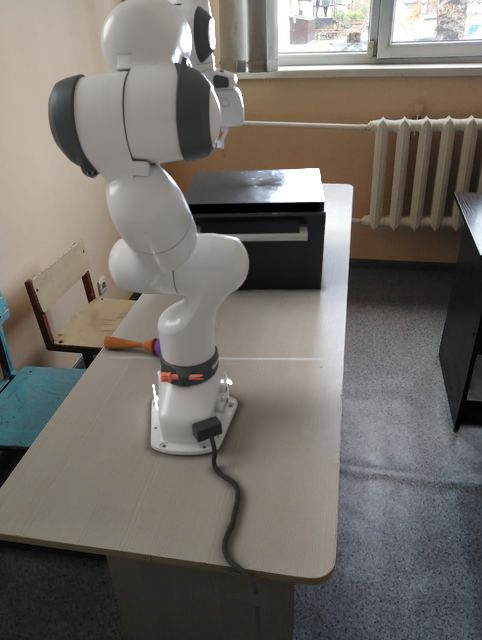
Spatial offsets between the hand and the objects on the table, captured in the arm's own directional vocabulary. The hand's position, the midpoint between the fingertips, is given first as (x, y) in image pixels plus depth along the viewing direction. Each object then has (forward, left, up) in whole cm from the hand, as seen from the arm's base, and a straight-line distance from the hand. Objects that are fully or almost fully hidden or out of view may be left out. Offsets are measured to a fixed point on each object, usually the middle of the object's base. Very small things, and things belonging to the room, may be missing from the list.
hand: (199, 149), depth 118 cm
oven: (+41, -9, -47) cm, 63 cm away
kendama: (-11, +17, -47) cm, 51 cm away
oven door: (+21, -9, -47) cm, 53 cm away
